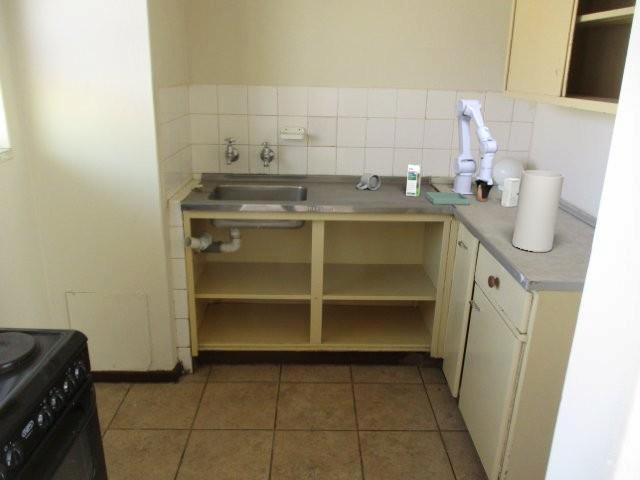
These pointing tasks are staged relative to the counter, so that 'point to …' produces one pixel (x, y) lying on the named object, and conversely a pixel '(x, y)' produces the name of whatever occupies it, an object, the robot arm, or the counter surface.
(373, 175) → the ceramic mug
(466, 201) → the tray
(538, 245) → the cylinder vase
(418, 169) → the syrup box
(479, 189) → the salt shaker
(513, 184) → the skincare box
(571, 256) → the counter surface
